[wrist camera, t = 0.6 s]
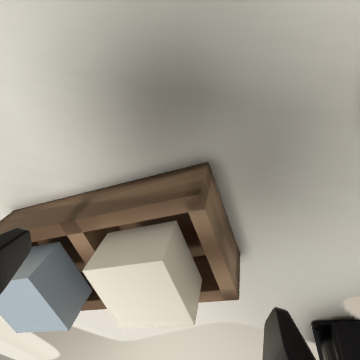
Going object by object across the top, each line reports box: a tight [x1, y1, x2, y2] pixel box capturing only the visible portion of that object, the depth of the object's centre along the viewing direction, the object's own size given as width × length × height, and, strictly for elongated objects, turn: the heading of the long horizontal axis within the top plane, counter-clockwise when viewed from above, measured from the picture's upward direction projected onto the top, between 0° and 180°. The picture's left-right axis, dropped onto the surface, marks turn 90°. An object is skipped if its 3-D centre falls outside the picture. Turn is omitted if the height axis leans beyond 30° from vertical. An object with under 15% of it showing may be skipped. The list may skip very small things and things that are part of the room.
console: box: [0, 162, 240, 311], centre depth 26 cm, size 10×22×5 cm, turn 111°
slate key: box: [0, 242, 92, 333], centre depth 24 cm, size 6×6×4 cm
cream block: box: [82, 221, 202, 328], centre depth 20 cm, size 6×6×4 cm
